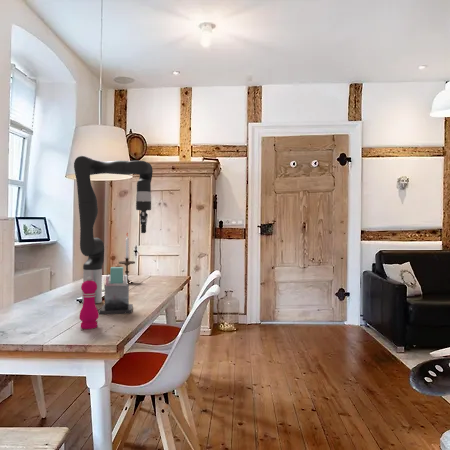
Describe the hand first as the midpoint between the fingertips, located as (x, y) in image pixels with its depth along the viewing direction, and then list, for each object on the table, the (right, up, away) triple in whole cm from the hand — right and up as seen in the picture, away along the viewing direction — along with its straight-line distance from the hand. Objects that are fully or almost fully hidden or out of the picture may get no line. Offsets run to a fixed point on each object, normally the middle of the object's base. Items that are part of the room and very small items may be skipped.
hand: (143, 232), depth 210 cm
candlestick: (-26, -36, +74) cm, 86 cm away
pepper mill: (-12, -37, -46) cm, 60 cm away
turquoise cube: (-10, -23, -15) cm, 29 cm away
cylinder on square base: (-10, -36, -16) cm, 41 cm away
